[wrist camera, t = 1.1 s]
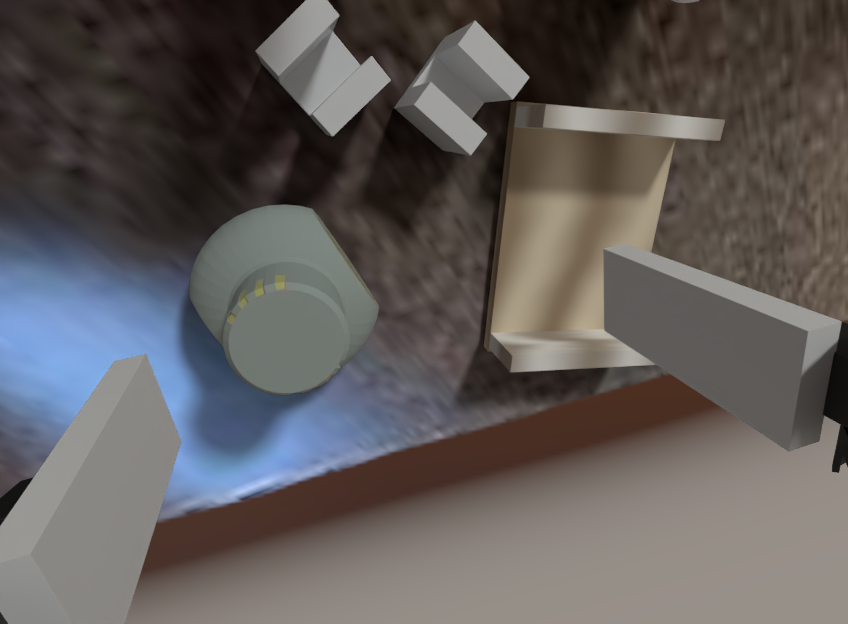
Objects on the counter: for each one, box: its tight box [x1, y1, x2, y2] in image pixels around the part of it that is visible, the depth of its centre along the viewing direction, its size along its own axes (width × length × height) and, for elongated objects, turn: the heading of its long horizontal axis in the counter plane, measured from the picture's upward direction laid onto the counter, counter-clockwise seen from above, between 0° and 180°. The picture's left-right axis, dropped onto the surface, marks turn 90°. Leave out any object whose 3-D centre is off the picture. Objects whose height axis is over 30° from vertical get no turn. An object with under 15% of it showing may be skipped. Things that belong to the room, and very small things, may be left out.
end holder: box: [484, 101, 725, 372], centre depth 35 cm, size 12×17×5 cm
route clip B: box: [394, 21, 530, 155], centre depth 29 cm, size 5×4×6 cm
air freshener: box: [189, 205, 379, 395], centre depth 29 cm, size 11×8×10 cm
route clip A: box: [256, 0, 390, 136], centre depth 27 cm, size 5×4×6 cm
